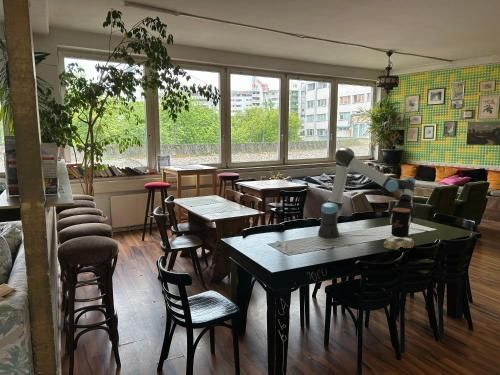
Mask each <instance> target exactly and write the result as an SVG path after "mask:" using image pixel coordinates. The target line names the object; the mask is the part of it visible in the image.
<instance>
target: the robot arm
mask: <svg viewBox="0 0 500 375" xmlns="http://www.w3.org/2000/svg"><path fill="white" fill-rule="evenodd" d="M334 159H335V166H336V170H335V175H334V180H333V185H332V189H331V194H330V197H329V198H328V199H327V202H325V203H323V204H322V205H321V208H320V209H321V213H320V214H321V215H320V226H319V229H318V233H317V236H319V237H320V238H328V239H335V238H338V237H339V236H340V232H339V228H338V218H339V217H340V216H341V215H342V212H343V205H344V201H343V196H344V192H345V188H346V183H347V177H348V174H349V170H350V169H352V170H353V171H356V172H357V173H359V174H360V175H362V176H364V177H366V178H368V179H370V180H371V181H372V182H375V183H376V184H378V185H380V186H381V187H383V188H385V189H386V190H387V191H388V192H390V193H391V192H396V191H397V190H399V191H400V197H399V200H398V201H397V202H396V201H395V200H394V201H393V203H392V205H391V206H390V208H389V209H388V210H387V213H388V215H389V217H388V218H389V219H390V220H389V224H390V225H392V216H393V208H407V209H410V208H412V210H411V209H410V212H409V213H410V218H409V222H408V226H409V227H410V226H411V222H412V223H413V221H414V218H415V219H416V218H418V216H417V212H416V203H412V200H413V195H414V190H415V187H416V180H415V179H414V178H413V177H405V178H404V179H401V178H396V177H391V176H388V175H386V174H384V173H383V172H381V171H379V170H377V169H375V168H374V167H371V166H370V165H368V164H367V163H365V162H363V161H361V160H360V159H358V158H357V157H356V155H355V152H354V150H352V149H351V148H349V147H342V148H339V149H337V150H336V152H335V154H334ZM412 211H413V212H412Z"/></svg>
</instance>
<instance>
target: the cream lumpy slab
mask: <svg viewBox="0 0 500 375" xmlns="http://www.w3.org/2000/svg"><path fill="white" fill-rule="evenodd" d="M414 243H415V241H414V240H413V238H409V237H405V238H400V237H395V236H393V235H389V236H388V237H387V238H386V239H385V241H384V242H383V248H385V249H390V250H396V251H398V250H397V249H398V248H400V247H403V248H411V247H412V248H414V245H415V244H414Z"/></svg>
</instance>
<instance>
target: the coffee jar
mask: <svg viewBox="0 0 500 375" xmlns="http://www.w3.org/2000/svg"><path fill="white" fill-rule="evenodd" d="M410 210H411V209H407V208H396V207H395V208H393V210H392V211H393V216H392V224H391V236H395V237H400V238H408V237H409V232H410V226H408V222H409V218H410V216H411V215H410V213H409V212H410Z"/></svg>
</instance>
